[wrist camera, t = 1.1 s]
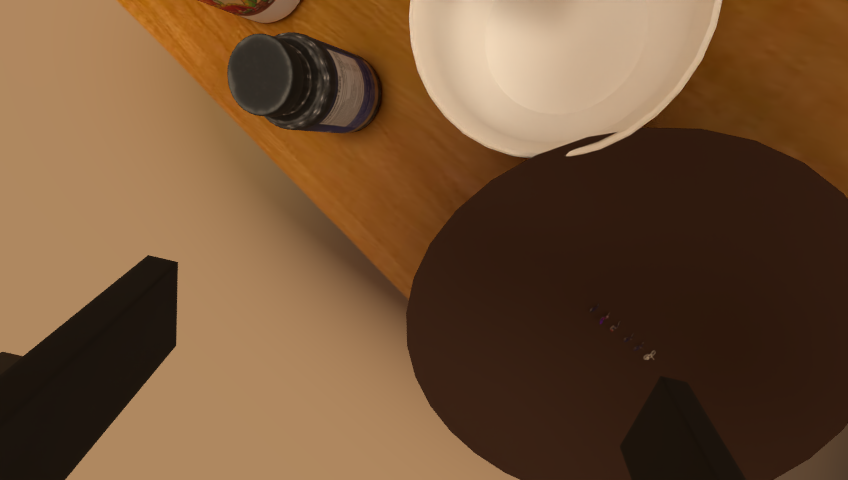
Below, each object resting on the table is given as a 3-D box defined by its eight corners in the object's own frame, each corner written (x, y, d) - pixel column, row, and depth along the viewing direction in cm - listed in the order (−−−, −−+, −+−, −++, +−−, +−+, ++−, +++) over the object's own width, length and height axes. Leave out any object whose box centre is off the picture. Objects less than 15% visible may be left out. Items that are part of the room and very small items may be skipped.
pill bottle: (304, 109, 41) (203, 94, 31) (336, 40, 39) (239, 0, 29) (361, 148, 40) (275, 146, 30) (397, 79, 38) (318, 51, 28)
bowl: (521, 201, 36) (497, 213, 29) (409, 14, 37) (358, -21, 29) (752, 64, 30) (797, 35, 22) (612, -157, 30) (613, -255, 23)
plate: (1005, 357, 27) (1059, 408, 24) (604, 509, 43) (606, 553, 39) (653, 2, 23) (664, 10, 20) (348, 309, 39) (329, 341, 35)
